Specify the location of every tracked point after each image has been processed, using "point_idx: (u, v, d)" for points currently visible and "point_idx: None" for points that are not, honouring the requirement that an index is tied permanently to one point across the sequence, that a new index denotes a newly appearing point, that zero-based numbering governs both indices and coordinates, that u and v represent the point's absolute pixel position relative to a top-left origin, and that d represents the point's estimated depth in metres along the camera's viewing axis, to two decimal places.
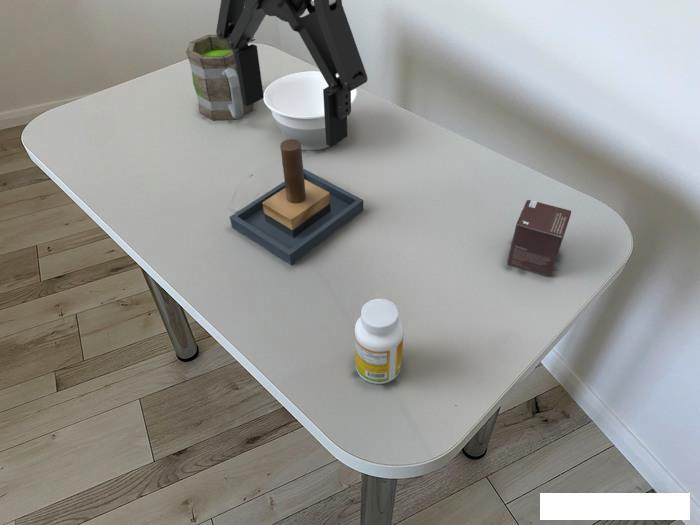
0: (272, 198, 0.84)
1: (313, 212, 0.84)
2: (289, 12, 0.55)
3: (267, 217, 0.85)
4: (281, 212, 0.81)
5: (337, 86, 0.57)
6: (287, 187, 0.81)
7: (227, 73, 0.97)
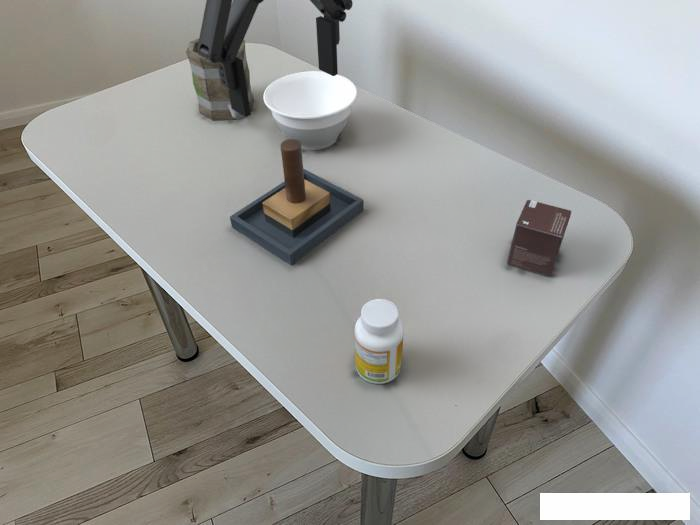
0: (272, 198, 0.84)
1: (313, 212, 0.84)
2: None
3: (267, 217, 0.85)
4: (281, 212, 0.81)
5: (341, 11, 0.68)
6: (287, 187, 0.81)
7: None
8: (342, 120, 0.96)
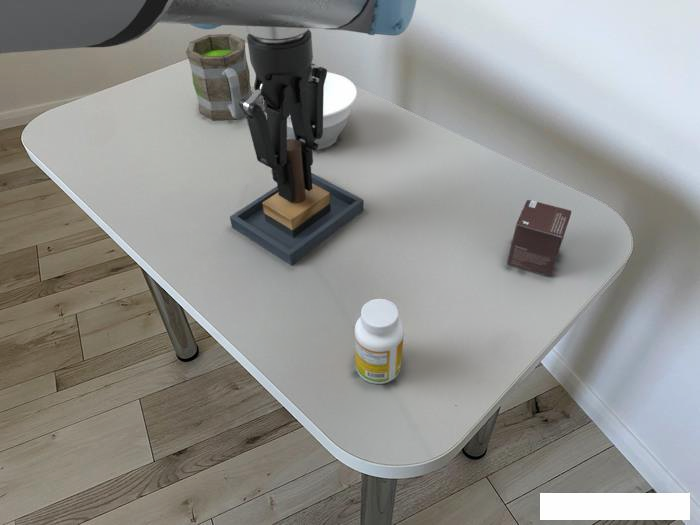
0: (272, 198, 0.84)
1: (313, 212, 0.84)
2: (305, 95, 0.73)
3: (267, 217, 0.85)
4: (281, 212, 0.81)
5: (314, 143, 0.79)
6: None
7: (227, 73, 0.97)
8: (342, 120, 0.96)
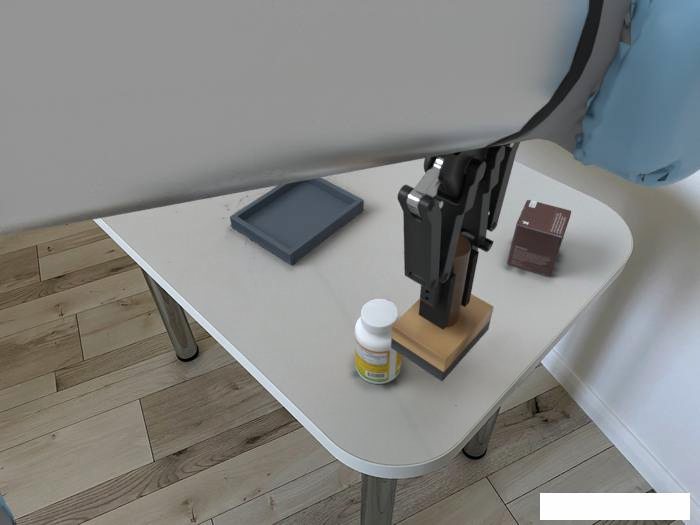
0: (406, 317, 0.53)
1: (471, 339, 0.53)
2: (496, 172, 0.42)
3: (396, 345, 0.54)
4: (427, 345, 0.51)
5: (485, 239, 0.49)
6: None
7: None
8: None
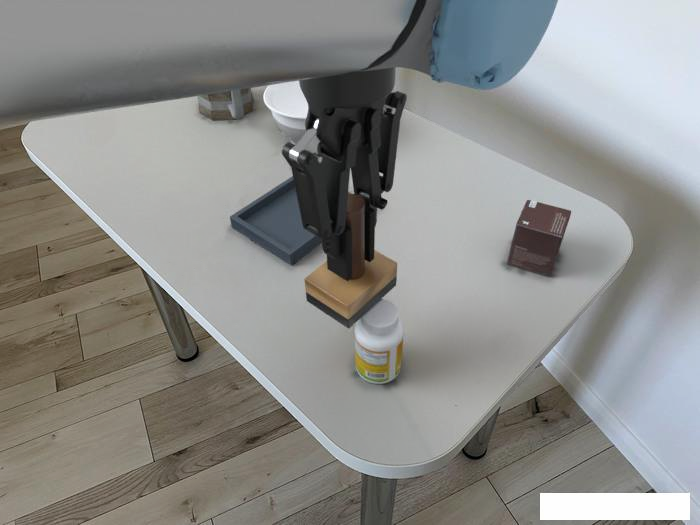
0: (318, 272, 0.60)
1: (375, 291, 0.60)
2: (377, 134, 0.49)
3: (310, 297, 0.60)
4: (333, 295, 0.57)
5: (381, 199, 0.55)
6: None
7: None
8: None
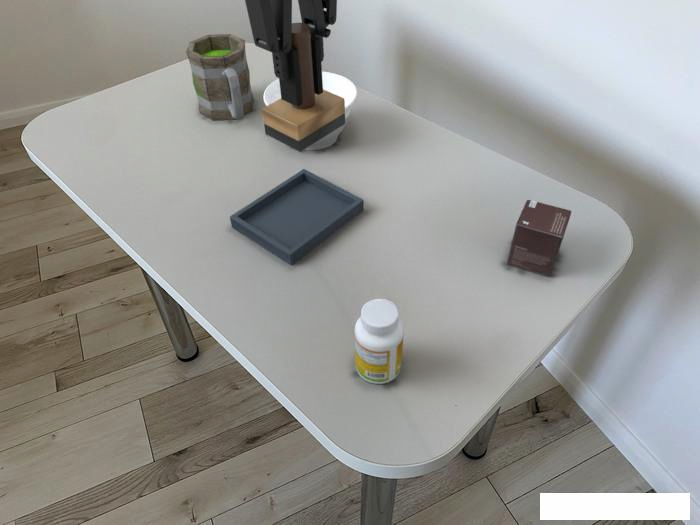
0: (274, 104, 0.68)
1: (324, 121, 0.68)
2: None
3: (268, 128, 0.69)
4: (285, 118, 0.66)
5: (325, 29, 0.64)
6: None
7: (227, 73, 0.97)
8: None
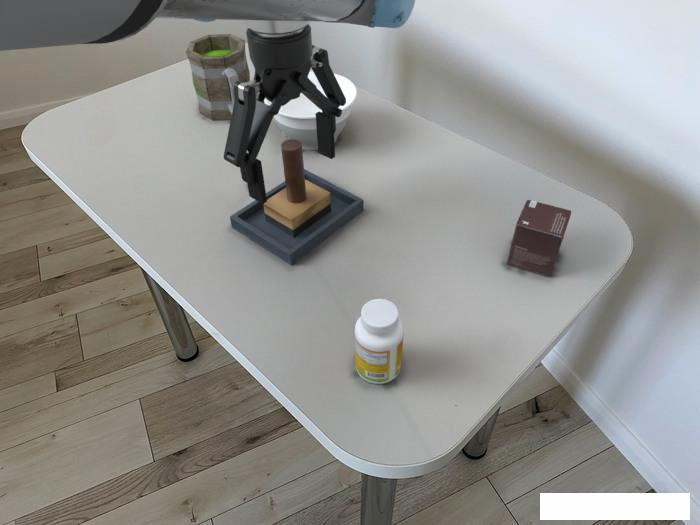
0: (273, 198, 0.84)
1: (314, 212, 0.84)
2: (310, 83, 0.72)
3: (268, 217, 0.85)
4: (282, 212, 0.81)
5: (337, 108, 0.80)
6: (288, 187, 0.81)
7: (227, 73, 0.97)
8: (342, 120, 0.96)
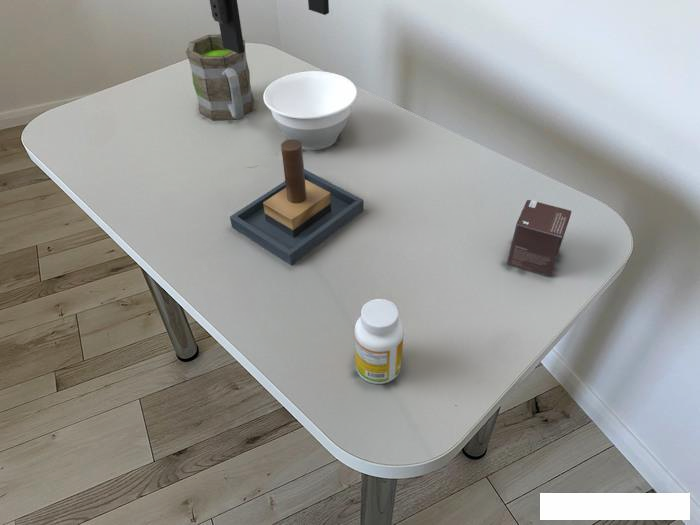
0: (273, 198, 0.84)
1: (314, 212, 0.84)
2: None
3: (268, 217, 0.85)
4: (282, 212, 0.81)
5: None
6: (288, 187, 0.81)
7: (227, 73, 0.97)
8: (342, 120, 0.96)
